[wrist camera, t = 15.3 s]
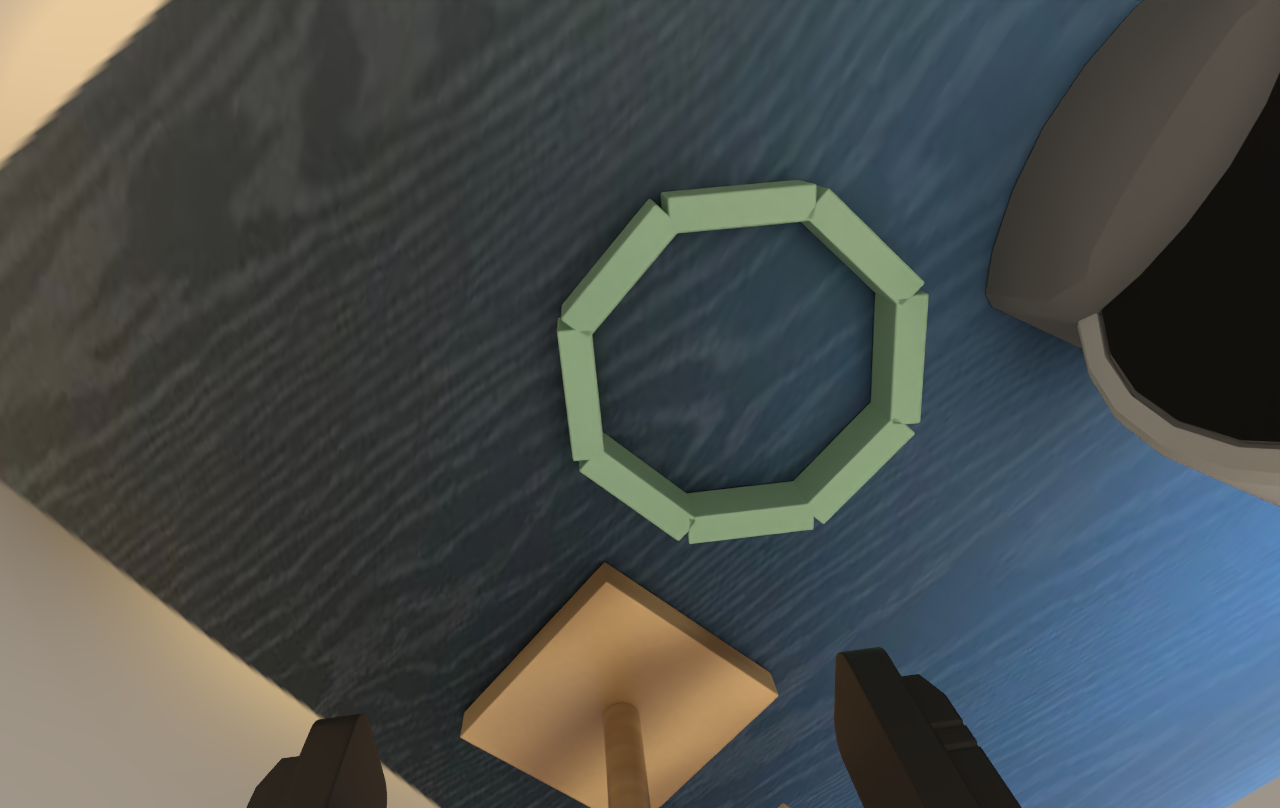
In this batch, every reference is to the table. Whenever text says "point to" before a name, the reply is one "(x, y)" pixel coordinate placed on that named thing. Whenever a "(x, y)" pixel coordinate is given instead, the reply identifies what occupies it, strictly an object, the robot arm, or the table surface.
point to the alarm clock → (1165, 233)
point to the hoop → (844, 457)
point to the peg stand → (618, 698)
